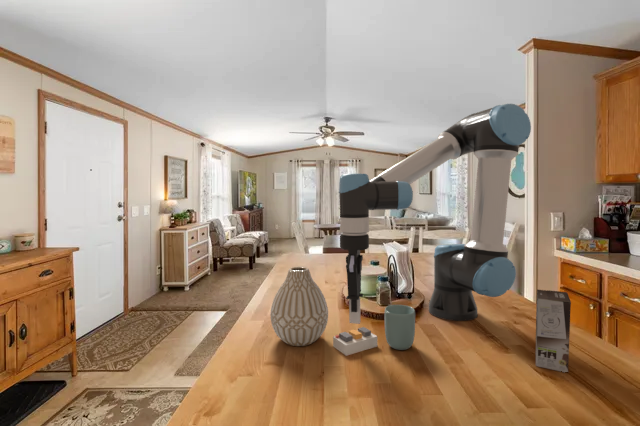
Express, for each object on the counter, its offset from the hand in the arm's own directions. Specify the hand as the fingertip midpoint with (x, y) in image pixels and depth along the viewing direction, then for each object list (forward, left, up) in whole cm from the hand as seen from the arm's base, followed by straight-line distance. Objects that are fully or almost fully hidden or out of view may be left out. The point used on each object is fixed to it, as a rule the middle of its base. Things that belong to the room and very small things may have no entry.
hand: (354, 322), depth 91 cm
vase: (+16, -1, -7) cm, 17 cm away
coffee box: (-46, -1, -7) cm, 47 cm away
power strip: (0, 0, -7) cm, 7 cm away
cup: (-12, -2, -7) cm, 13 cm away
